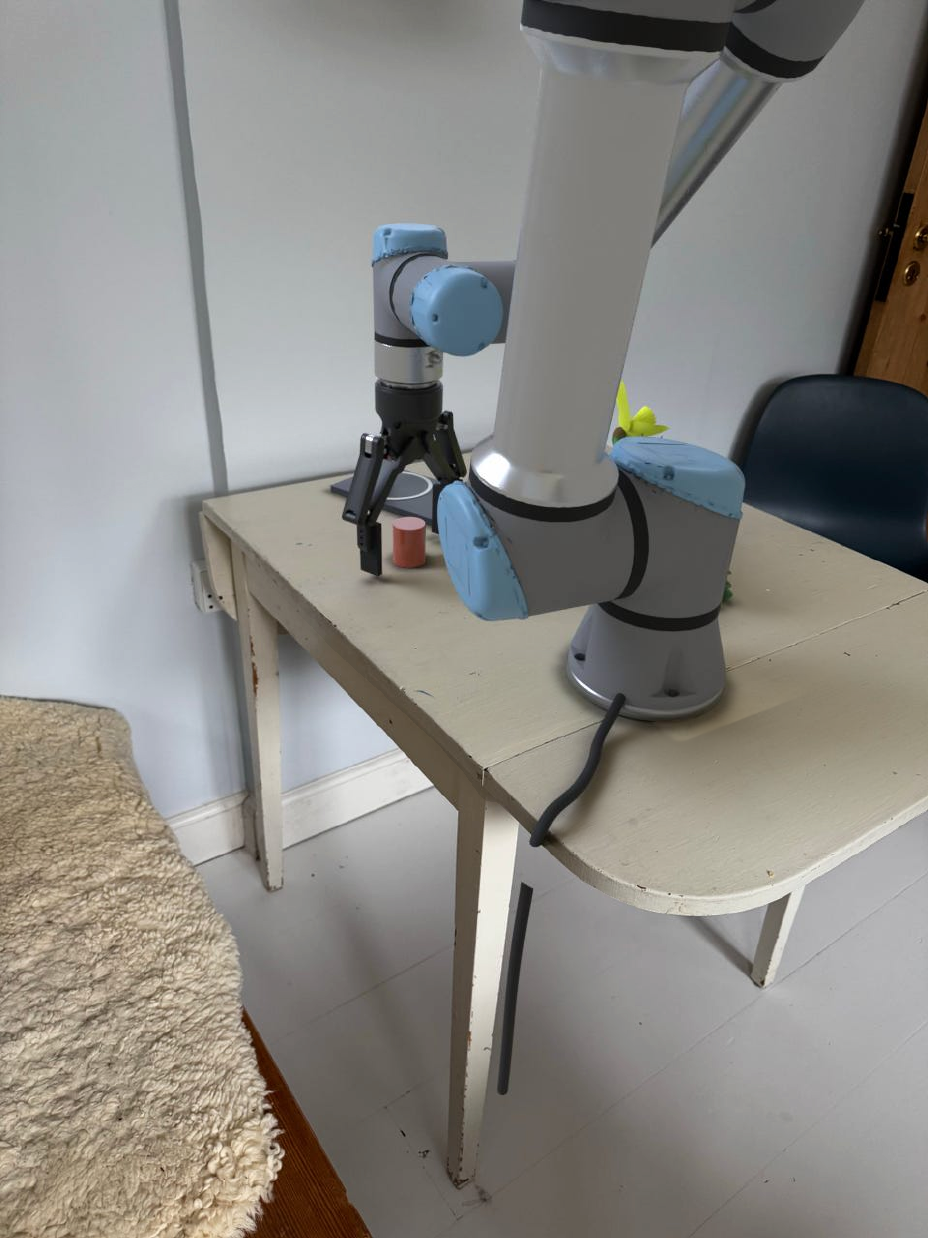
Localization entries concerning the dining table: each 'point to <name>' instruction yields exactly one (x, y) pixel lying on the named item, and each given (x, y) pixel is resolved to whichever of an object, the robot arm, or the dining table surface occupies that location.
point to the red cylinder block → (409, 542)
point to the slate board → (403, 495)
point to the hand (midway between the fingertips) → (408, 552)
